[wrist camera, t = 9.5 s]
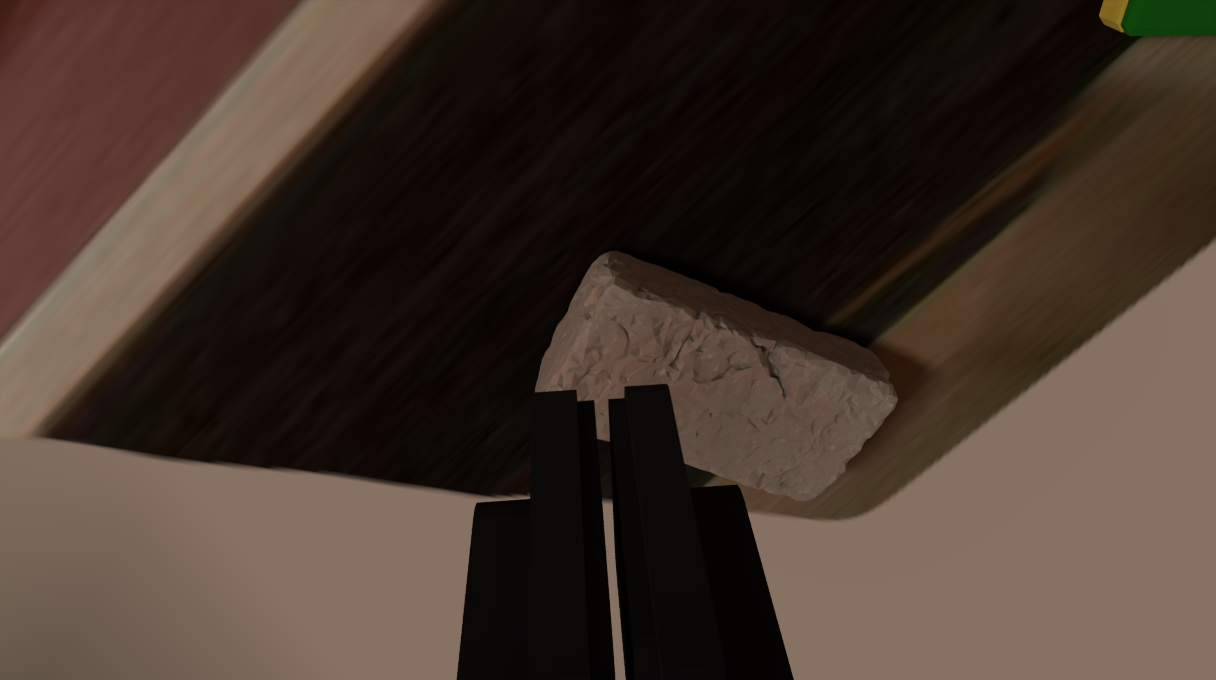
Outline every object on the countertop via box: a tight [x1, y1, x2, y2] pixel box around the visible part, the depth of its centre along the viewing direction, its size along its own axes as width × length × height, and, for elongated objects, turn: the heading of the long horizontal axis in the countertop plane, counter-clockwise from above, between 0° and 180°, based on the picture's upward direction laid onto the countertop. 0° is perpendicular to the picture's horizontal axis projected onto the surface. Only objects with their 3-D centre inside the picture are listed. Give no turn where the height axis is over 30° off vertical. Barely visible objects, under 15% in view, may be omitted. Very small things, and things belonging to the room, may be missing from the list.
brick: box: [535, 251, 898, 501], centre depth 42 cm, size 17×8×5 cm, turn 65°
